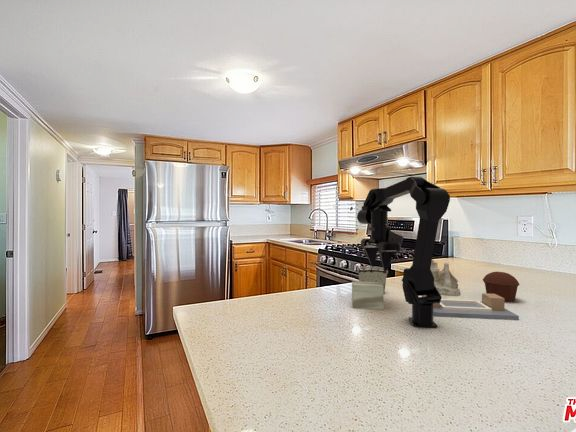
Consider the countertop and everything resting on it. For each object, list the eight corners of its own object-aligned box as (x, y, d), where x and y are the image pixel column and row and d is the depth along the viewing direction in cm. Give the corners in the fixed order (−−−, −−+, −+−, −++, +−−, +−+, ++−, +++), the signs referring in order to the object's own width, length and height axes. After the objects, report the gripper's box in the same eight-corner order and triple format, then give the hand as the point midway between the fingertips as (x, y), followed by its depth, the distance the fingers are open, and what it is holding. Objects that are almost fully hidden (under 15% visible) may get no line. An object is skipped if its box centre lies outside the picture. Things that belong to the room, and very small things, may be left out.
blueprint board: (518, 319, 96) (519, 302, 96) (425, 315, 99) (425, 299, 99) (493, 305, 110) (493, 290, 110) (412, 302, 114) (413, 287, 114)
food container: (385, 290, 132) (385, 266, 131) (388, 294, 125) (388, 269, 125) (355, 289, 133) (355, 265, 133) (356, 293, 127) (356, 268, 126)
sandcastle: (459, 297, 120) (458, 257, 121) (414, 293, 129) (413, 256, 130) (462, 291, 133) (461, 255, 134) (421, 287, 142) (420, 254, 143)
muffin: (526, 301, 116) (527, 274, 115) (506, 304, 111) (506, 276, 111) (494, 293, 127) (495, 269, 126) (475, 296, 122) (475, 270, 122)
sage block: (383, 309, 106) (383, 285, 106) (353, 308, 107) (353, 284, 107) (381, 305, 111) (381, 282, 110) (351, 303, 112) (352, 281, 112)
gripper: (415, 225, 104) (415, 272, 104) (386, 223, 123) (387, 264, 123) (384, 225, 102) (384, 273, 102) (360, 224, 121) (360, 264, 121)
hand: (379, 268), depth 112 cm, fingers open, 9 cm apart
